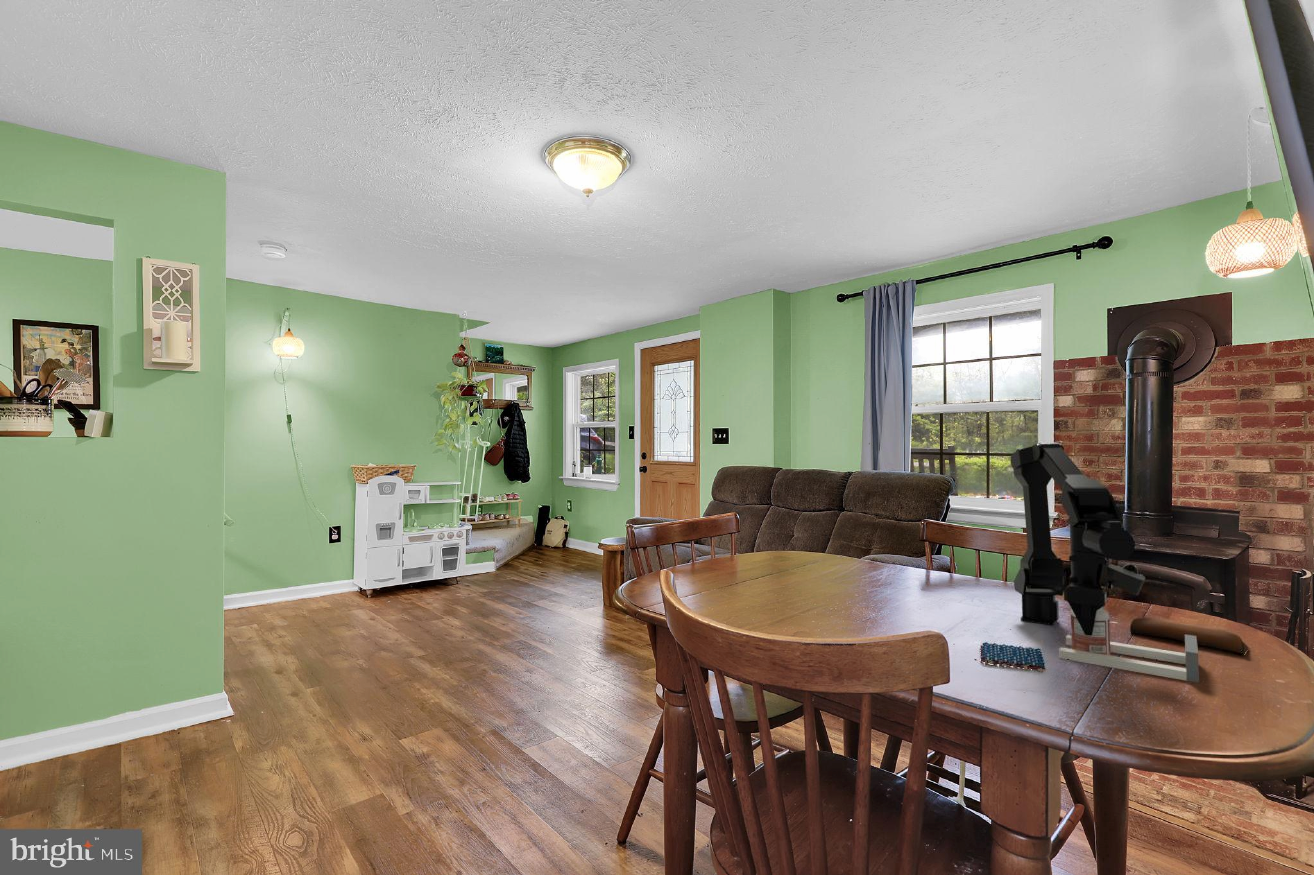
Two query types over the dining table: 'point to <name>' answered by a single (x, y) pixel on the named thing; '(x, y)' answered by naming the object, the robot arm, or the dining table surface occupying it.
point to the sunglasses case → (1189, 633)
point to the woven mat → (1012, 656)
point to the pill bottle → (1099, 636)
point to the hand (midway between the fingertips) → (1090, 631)
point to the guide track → (1141, 666)
